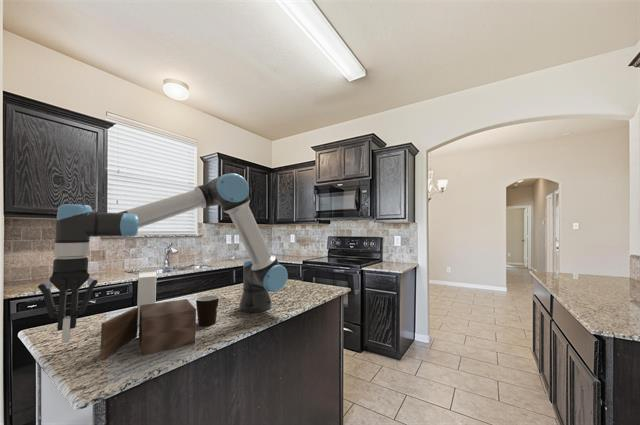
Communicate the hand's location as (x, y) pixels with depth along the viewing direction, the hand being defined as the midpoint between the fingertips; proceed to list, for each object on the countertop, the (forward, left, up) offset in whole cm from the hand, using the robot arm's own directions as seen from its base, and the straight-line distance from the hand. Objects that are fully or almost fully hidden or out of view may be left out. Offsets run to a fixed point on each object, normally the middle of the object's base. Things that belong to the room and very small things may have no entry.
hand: (65, 340), depth 77 cm
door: (-12, -3, -6) cm, 14 cm away
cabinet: (-25, -1, -6) cm, 26 cm away
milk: (-21, -25, -6) cm, 33 cm away
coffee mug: (-42, -11, -6) cm, 44 cm away
